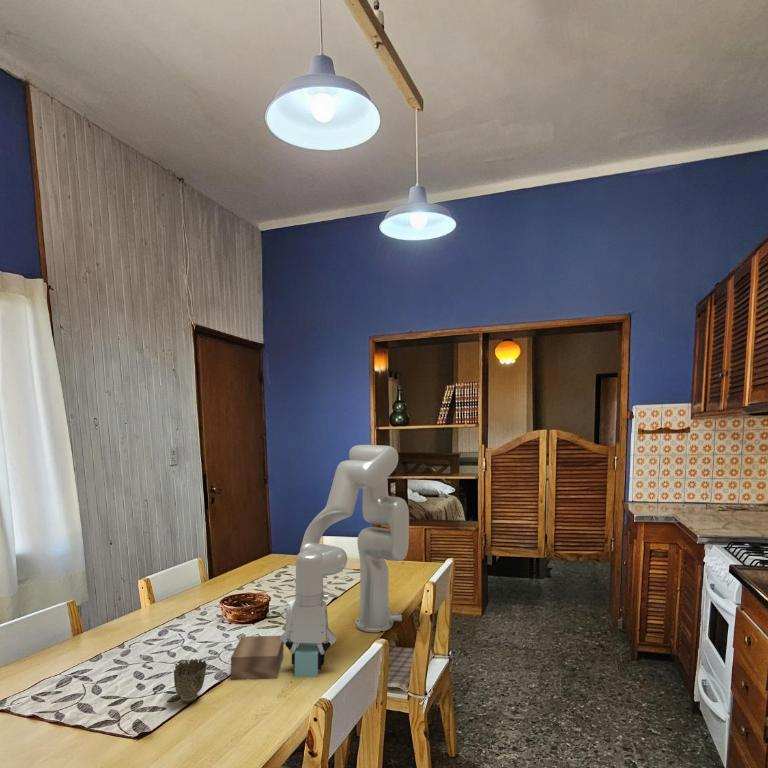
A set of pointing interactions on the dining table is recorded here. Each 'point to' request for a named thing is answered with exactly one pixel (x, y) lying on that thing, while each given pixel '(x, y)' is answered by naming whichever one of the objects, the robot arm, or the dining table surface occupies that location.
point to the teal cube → (306, 660)
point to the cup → (189, 679)
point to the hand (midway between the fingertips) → (308, 666)
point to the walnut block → (257, 658)
